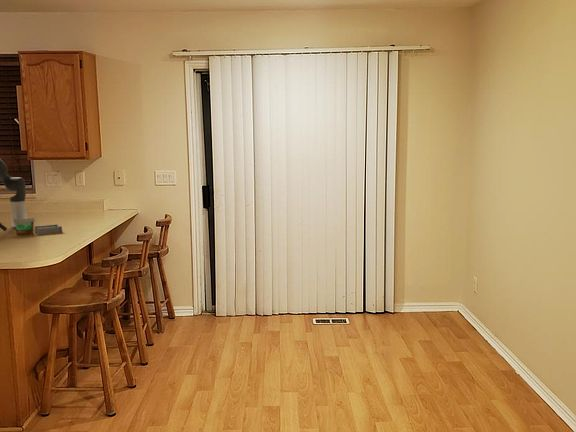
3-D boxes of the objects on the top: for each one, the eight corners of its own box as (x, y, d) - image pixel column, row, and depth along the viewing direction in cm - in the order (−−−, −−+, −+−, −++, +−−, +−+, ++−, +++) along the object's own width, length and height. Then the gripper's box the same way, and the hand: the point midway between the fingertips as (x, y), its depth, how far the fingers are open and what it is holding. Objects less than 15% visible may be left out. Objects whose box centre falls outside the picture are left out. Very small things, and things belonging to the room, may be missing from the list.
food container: (12, 235, 365) (11, 219, 364) (14, 234, 371) (13, 218, 370) (33, 235, 368) (32, 219, 366) (35, 233, 374) (34, 217, 372)
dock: (35, 232, 378) (34, 226, 378) (59, 230, 385) (58, 224, 385) (37, 234, 368) (37, 228, 367) (62, 232, 375) (61, 226, 374)
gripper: (-13, 207, 352) (11, 226, 359) (-14, 205, 363) (9, 223, 371) (-23, 217, 350) (2, 236, 358) (-24, 214, 361) (0, 233, 369)
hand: (6, 229), depth 364 cm, fingers closed
